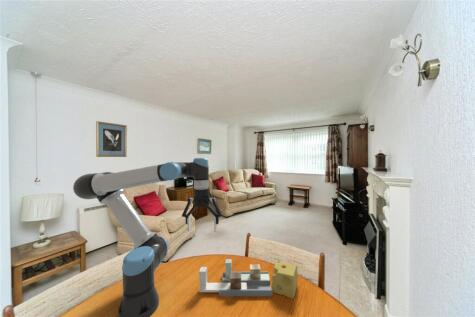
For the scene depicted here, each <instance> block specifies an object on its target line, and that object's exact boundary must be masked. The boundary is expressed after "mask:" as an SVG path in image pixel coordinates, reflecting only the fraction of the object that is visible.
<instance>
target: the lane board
mask: <svg viewBox="0 0 475 317" xmlns="http://www.w3.org/2000/svg"><path fill="white" fill-rule="evenodd" d="M232 273H241V274H250V271H232ZM260 274H269V271H267V270H265V271H260ZM220 283H230V280H226V271H222V278H221V281H220ZM241 283H247V289H220V290H219V292H218V293H219V297H273V292H272V284H271V279H270V280H241Z"/></svg>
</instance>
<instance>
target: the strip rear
mask: <svg viewBox="0 0 475 317" xmlns="http://www.w3.org/2000/svg"><path fill="white" fill-rule="evenodd" d="M224 265H225V269H224V270H225V271H224V272H226V280H230V276H231V273H232V272H233V260H232V258H225V264H224ZM260 275H261V279H260V280H270V281H271V279H270V274H269V273H268V274H260ZM241 280H251V278H250V274H241Z"/></svg>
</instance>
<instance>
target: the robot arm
mask: <svg viewBox="0 0 475 317" xmlns="http://www.w3.org/2000/svg"><path fill="white" fill-rule="evenodd" d="M209 167H210V165H209V159H208V158H207V157H196V158H193V160H192V161H191V162H187V161H186V162H182V161H181V162H180V161H179V162H178V161H177V162H174V161H168V162H165V163H162V164H156V165H149V166H146V167H140V168H133V169H129V170H123V171H118V172H110V171H106V172H98V173H85V174H83V175H81V176H80V177H78V178H77V179H76V180H75V181H74V183H73V187H72V190H73V192H74V194H75V195H76V196H77V197H78V198H80V199H82V200H93V199H97V201H98V202H99V203H100V204H101V205H106V206H107V208H108V209H109V211H110V212H111V213H112V215H113V216H114V217H115V219H116V220H117V222H118V223H119V225H120V226H121V227H122V229H123V230H124V232H125V233H126V235H127V236H128V238H130V240H131V241H132V243H133V249H131V250H130V251H129V252H127V253H126V255H124V257H123V260H122V266H121V270H122V297H121V300H120V303H119V306H118V308H117V317H150V316H152V315H153V314H154V313H155V312H156V311H157V309H158V307H159V305H160V296H159V293H158V291H157V288H156V285H155V271H156V270H157V268H158V267H159V266H160V264H161V263H162V262H163V260H165V258H166V256H167V254H168V252H169V243H168V240H167V239H166V238H165V237H164V236H160V235H158V234H157V233H156V232H155V231H154V232H153V231H151V230H150V229H149V227H148V226H147V224H146V223H145V222H144V220H143V218H142V217H141V216H140V214H139V213H138V211H137V210H136V209H135V207H134V206H133V204H131V201H130V200H129V199H128V198H127V196H126V194H125V192H126V189H130V188H135V187H141V186H145V185H146V186H147V185H150V184H151V185H152V184H156V183H161V182H167V181H176V180H178V179H181V178H193V189H194V190H193V197H189V198H187V203H186V206H185V207H184V210H183V212H182V214H181V217H182V218H183V217H184V218H185V224H186V225H187V232H190V231H191V230H192V218H191V214H192V213H193V212H194V211H195V210H196V208H207V210H209V211H210V214H212V215H213V216H214V217H213V226H214V227H213V229H214V230H213V231H214V232H217V230H218V225H219V223H220V219H219V218H221V217H222V216H223V213H222V211H221V209H220V206H219V205H218V203H217V199H216V197H210V189H209V187H210V181H209V179H210V176H209V175H210V172H209V171H210V169H209ZM210 202H211V203H212V205H213V207H214V208H213V207H212V205H211V204H210ZM192 203H194V204H193V206H191V205H192ZM190 207H191V209H190V210H189V208H190ZM188 210H189V211H188Z"/></svg>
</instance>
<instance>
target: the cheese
mask: <svg viewBox="0 0 475 317" xmlns="http://www.w3.org/2000/svg"><path fill="white" fill-rule="evenodd" d="M298 279H299V278H298V265H296V264H293V263H289V262H283V261H280V260H277V261H276V263H275V265H274V266H273V273H272V276H271V281H272V283H271V289H272V293H274V294H277V295H282V296H285V297H287V298H291V299H294V298H295V296H296V292H297V287H298V284H299V282H298Z"/></svg>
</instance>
